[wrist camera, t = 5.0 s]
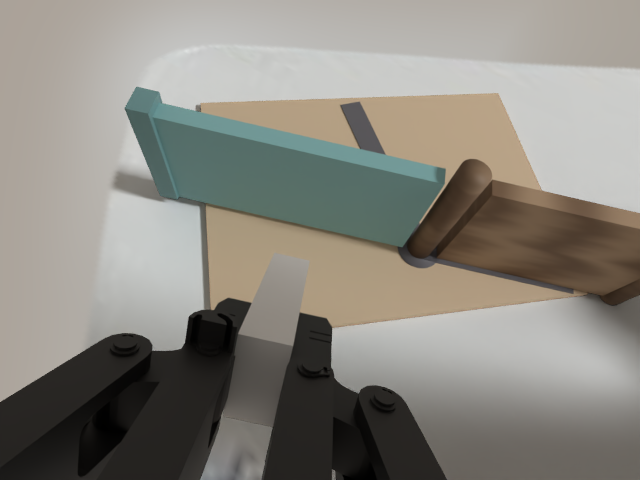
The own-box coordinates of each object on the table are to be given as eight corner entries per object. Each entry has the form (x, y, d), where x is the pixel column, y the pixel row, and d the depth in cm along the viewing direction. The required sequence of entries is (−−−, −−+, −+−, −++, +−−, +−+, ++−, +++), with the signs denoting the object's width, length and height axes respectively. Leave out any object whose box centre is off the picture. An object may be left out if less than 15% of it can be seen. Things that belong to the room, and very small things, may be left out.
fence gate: (404, 231, 35) (449, 159, 26) (402, 250, 34) (448, 182, 25) (168, 177, 34) (136, 86, 26) (160, 195, 33) (124, 108, 25)
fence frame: (619, 285, 36) (752, 223, 26) (622, 307, 35) (761, 251, 25) (406, 237, 36) (460, 155, 26) (404, 258, 35) (459, 182, 25)
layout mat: (496, 96, 44) (498, 92, 44) (584, 295, 35) (588, 293, 35) (201, 106, 39) (200, 102, 39) (212, 343, 30) (212, 341, 29)
